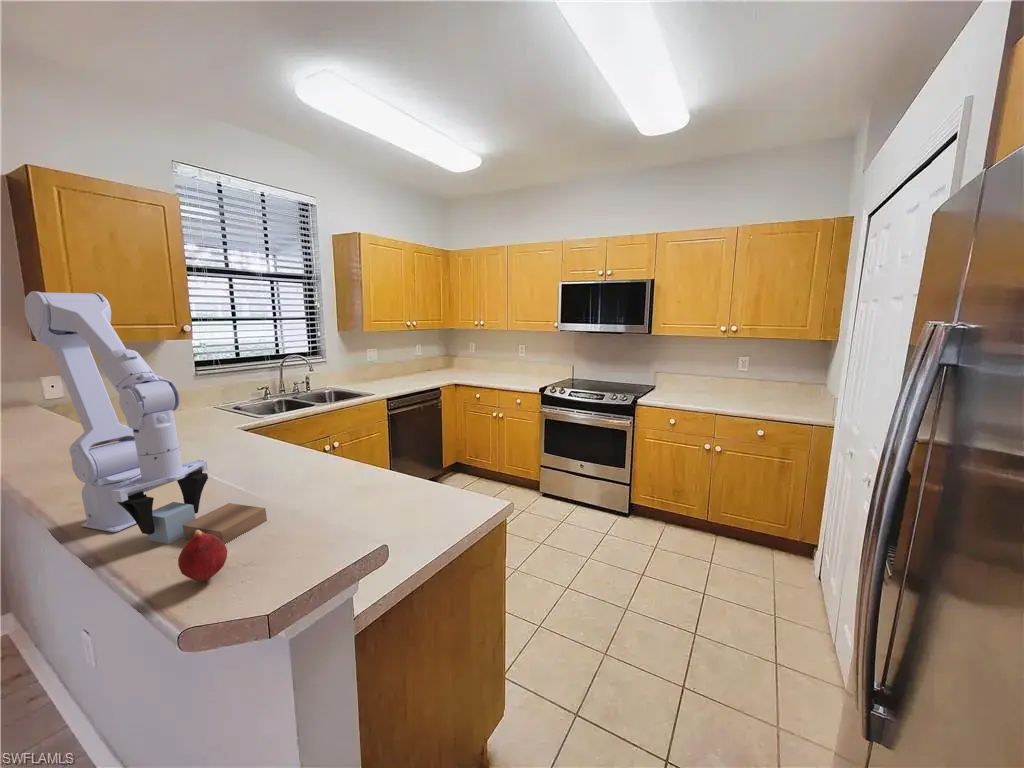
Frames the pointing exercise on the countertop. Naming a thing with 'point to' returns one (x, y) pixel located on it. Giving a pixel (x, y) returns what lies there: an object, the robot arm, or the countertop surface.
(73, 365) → the robot arm
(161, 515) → the cube
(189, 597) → the countertop surface
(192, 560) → the onion
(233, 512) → the base
